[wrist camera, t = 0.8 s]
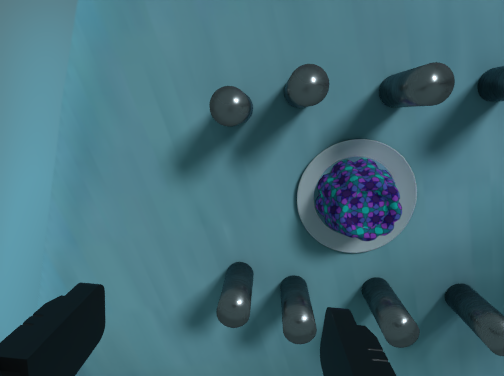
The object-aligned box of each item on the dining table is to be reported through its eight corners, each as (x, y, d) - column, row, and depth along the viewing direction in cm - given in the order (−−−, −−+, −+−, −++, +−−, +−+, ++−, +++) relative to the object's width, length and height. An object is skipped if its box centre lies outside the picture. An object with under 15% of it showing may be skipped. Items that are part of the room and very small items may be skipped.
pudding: (299, 253, 34) (304, 277, 29) (292, 143, 32) (297, 149, 26) (412, 246, 33) (437, 270, 28) (415, 133, 31) (444, 137, 26)
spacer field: (514, 67, 29) (591, 52, 22) (471, 308, 34) (521, 356, 28) (221, 70, 30) (207, 57, 23) (227, 301, 36) (217, 345, 29)
